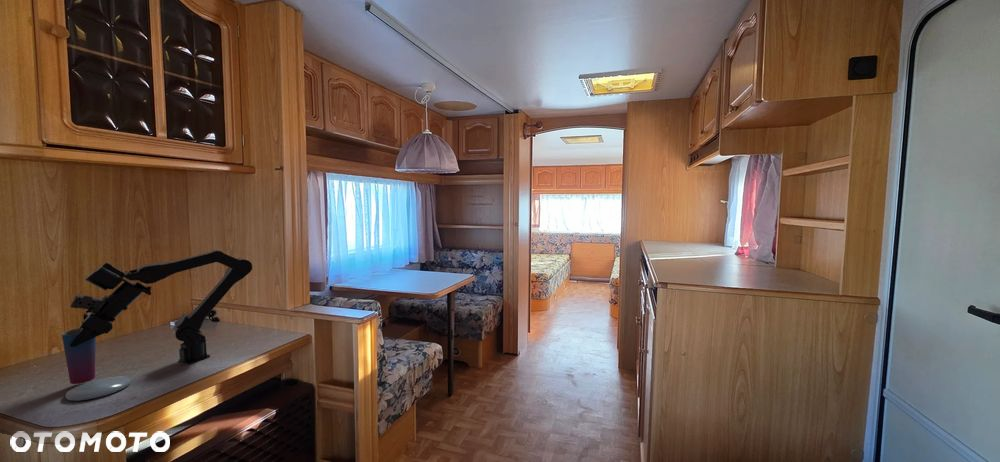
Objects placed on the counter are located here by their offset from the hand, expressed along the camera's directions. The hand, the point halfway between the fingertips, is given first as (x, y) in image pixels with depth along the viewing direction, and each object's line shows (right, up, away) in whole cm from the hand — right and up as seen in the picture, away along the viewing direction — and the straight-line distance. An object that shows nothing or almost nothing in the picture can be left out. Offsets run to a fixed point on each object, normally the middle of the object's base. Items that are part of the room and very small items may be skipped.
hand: (71, 343), depth 112 cm
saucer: (+9, -13, -1) cm, 16 cm away
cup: (+1, -12, +2) cm, 12 cm away
